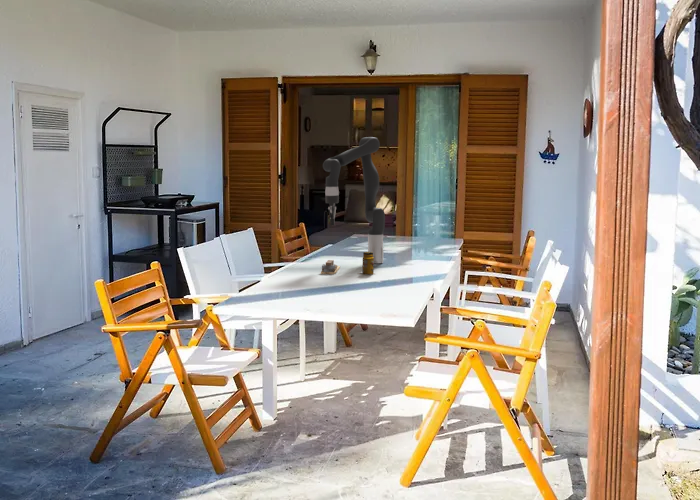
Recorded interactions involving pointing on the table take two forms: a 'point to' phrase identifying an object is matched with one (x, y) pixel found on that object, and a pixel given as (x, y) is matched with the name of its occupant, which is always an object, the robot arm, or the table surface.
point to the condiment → (368, 264)
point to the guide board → (329, 269)
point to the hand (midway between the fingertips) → (332, 225)
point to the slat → (330, 262)
